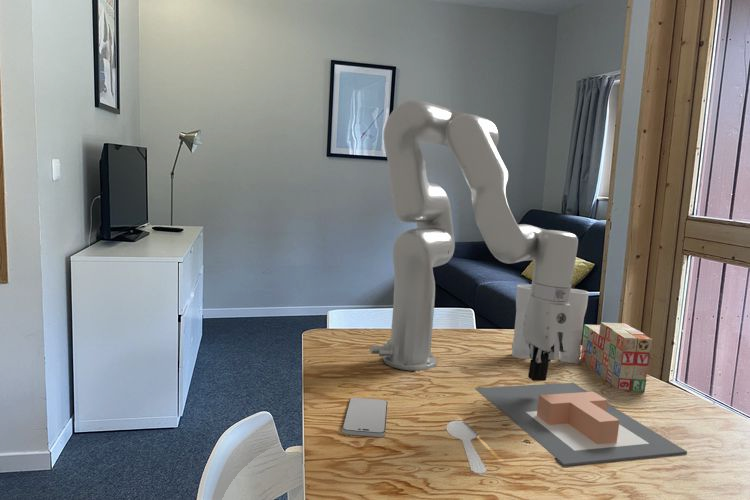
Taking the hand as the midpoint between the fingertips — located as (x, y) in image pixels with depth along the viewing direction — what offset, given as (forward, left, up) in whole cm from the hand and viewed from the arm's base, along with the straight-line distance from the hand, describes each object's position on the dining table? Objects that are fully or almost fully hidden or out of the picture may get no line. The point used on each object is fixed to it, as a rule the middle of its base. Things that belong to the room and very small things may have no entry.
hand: (536, 379), depth 113 cm
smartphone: (-37, -4, -4) cm, 38 cm away
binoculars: (+17, +22, -4) cm, 28 cm away
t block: (+1, -15, -3) cm, 15 cm away
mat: (+1, -10, -4) cm, 11 cm away
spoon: (-23, -17, -4) cm, 29 cm away
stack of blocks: (+26, +10, -4) cm, 29 cm away
